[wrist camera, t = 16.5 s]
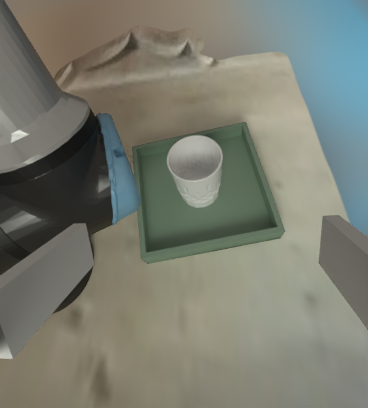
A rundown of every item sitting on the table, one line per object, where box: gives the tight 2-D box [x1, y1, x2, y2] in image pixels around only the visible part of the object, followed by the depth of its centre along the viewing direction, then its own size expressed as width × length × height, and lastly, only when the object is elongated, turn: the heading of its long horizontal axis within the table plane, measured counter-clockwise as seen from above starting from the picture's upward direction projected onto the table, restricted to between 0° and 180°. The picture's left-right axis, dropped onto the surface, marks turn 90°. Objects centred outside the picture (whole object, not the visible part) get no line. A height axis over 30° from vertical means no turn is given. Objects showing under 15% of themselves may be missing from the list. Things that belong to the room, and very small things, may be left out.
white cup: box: [167, 135, 223, 208], centre depth 40 cm, size 8×8×10 cm
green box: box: [132, 122, 285, 264], centre depth 44 cm, size 22×22×4 cm
